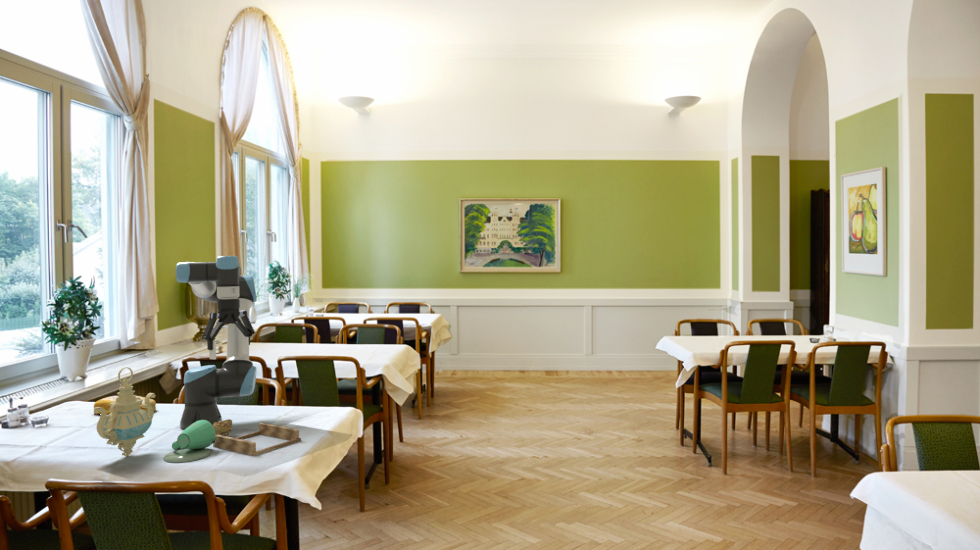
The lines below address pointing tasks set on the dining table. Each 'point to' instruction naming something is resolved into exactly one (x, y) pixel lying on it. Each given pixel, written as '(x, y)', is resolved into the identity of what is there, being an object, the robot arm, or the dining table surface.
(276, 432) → the oak frame
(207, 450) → the coaster
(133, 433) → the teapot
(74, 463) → the dining table surface
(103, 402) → the bread
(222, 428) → the seashell
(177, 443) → the mug
